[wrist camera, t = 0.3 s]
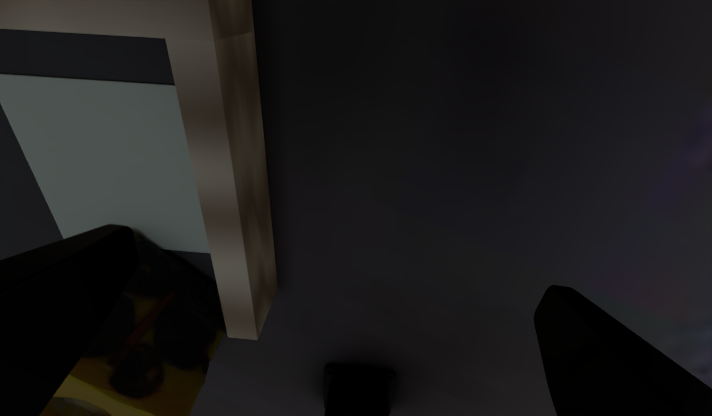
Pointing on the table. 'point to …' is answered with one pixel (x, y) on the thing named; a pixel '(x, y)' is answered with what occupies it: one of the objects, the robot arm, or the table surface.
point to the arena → (200, 125)
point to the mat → (108, 156)
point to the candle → (148, 345)
